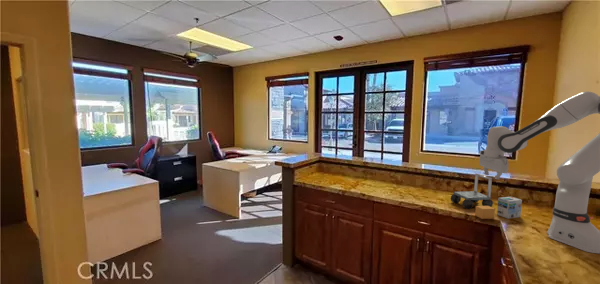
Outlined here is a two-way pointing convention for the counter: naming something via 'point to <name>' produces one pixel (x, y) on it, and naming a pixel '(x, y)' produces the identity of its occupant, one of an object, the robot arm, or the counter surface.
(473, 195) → the trolley
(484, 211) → the block
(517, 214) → the light bulb box
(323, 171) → the counter surface
